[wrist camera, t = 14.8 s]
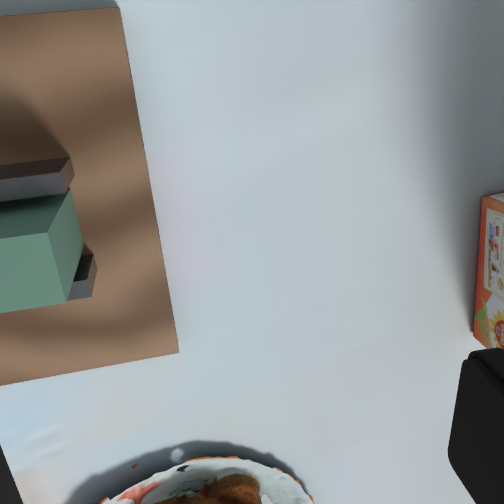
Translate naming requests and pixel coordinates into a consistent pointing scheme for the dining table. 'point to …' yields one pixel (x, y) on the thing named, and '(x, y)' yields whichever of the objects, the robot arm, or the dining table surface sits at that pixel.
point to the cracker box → (490, 274)
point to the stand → (82, 193)
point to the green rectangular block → (38, 251)
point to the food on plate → (216, 484)
